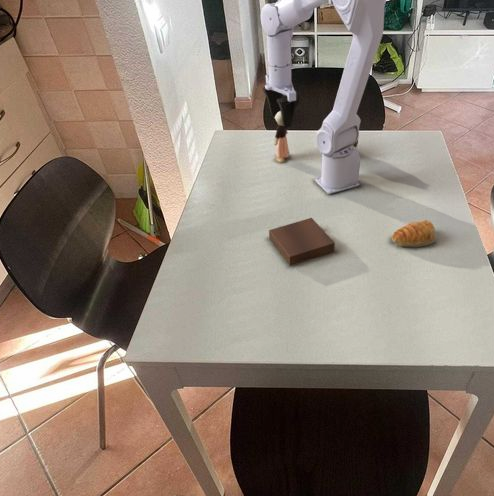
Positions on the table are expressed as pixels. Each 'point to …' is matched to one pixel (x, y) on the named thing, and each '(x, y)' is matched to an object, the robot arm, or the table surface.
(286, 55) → the robot arm
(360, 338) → the table surface
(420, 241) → the pastry
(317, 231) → the walnut block
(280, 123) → the grandmother figurine
